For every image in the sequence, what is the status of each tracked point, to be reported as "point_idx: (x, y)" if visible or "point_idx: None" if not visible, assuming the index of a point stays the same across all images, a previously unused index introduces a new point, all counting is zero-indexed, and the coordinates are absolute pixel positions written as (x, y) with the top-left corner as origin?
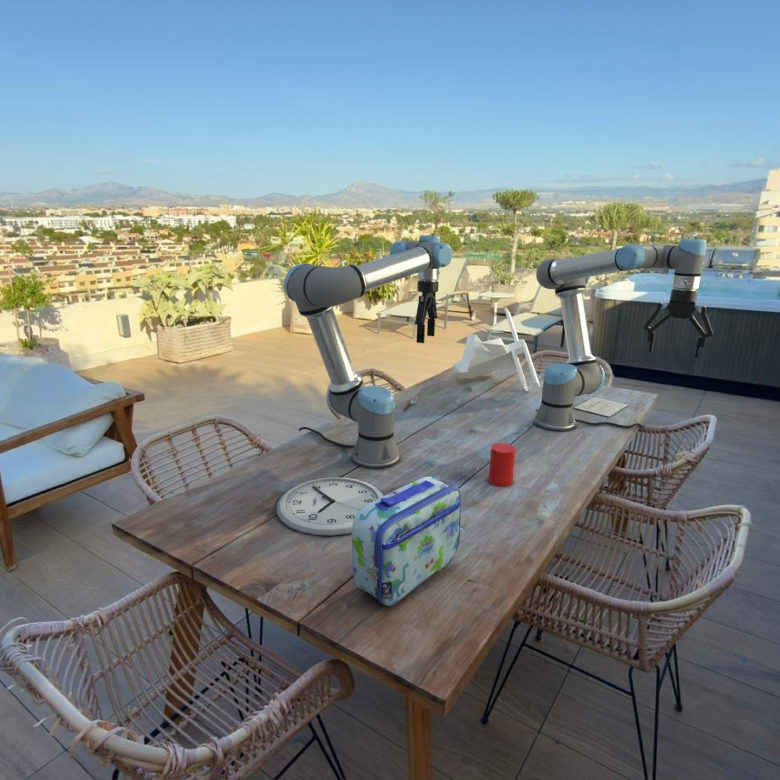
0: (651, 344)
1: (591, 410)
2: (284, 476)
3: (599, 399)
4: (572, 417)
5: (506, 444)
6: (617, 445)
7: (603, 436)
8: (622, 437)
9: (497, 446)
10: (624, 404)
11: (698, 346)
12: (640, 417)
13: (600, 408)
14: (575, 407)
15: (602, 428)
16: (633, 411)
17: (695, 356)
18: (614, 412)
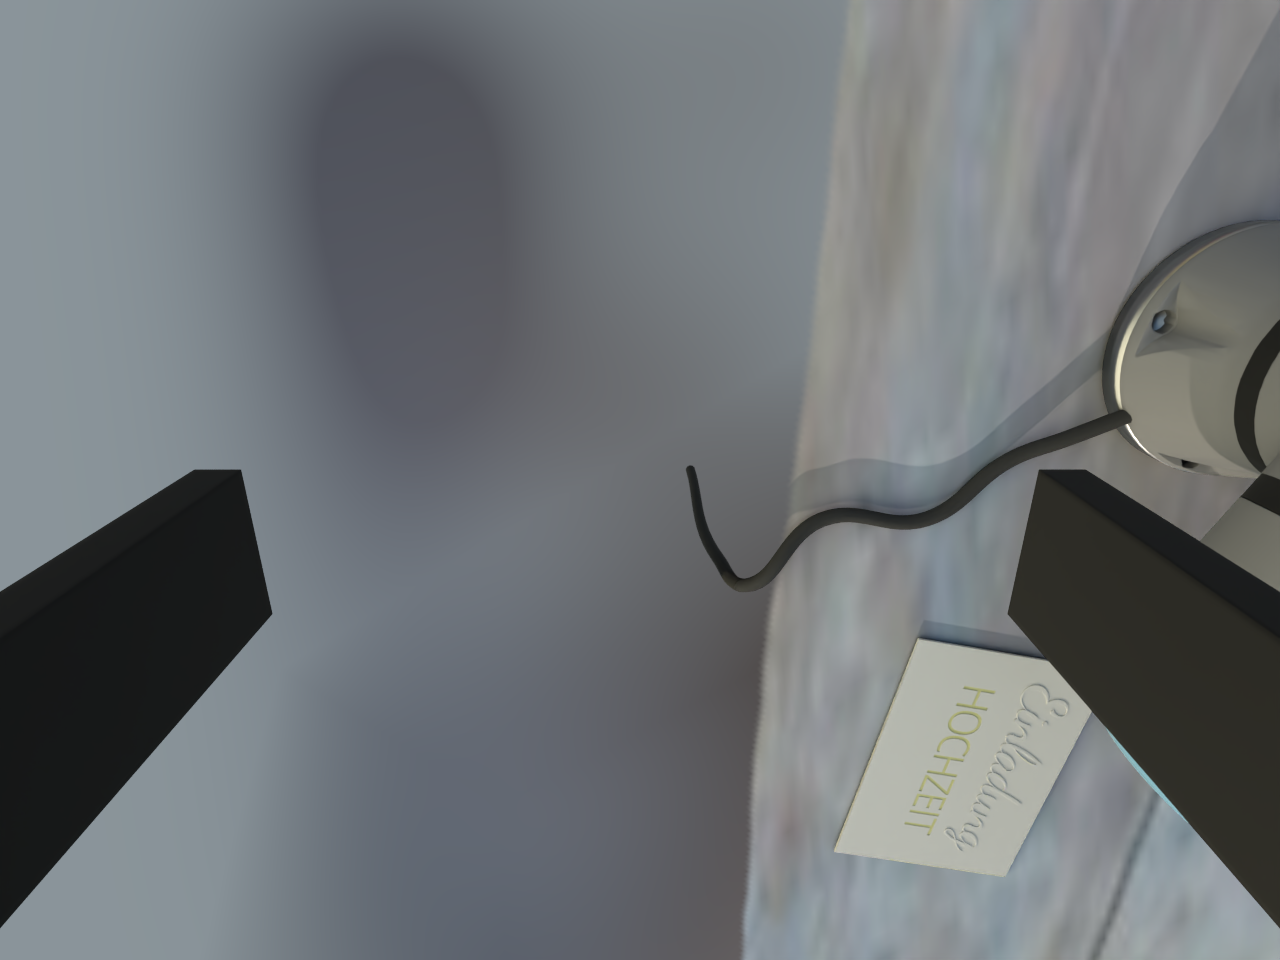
0: (1165, 539)
1: (1014, 677)
2: None
3: (979, 853)
4: (1171, 349)
5: None
6: (842, 211)
7: (929, 316)
8: (825, 365)
9: None
10: (852, 845)
11: (40, 588)
12: (761, 718)
13: (968, 731)
14: None
15: (941, 445)
16: (801, 782)
17: (220, 477)
18: (893, 711)
